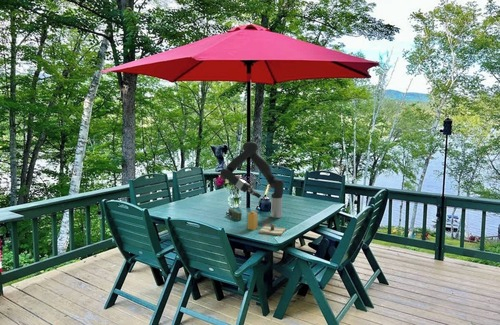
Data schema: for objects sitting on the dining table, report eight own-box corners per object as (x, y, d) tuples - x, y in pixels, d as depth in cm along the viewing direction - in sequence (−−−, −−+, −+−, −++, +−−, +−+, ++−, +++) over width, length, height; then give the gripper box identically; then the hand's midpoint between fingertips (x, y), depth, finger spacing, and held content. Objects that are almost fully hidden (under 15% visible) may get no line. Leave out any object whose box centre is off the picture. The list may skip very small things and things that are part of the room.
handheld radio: (238, 221, 277) (224, 214, 298) (241, 220, 278) (227, 214, 300) (238, 213, 276) (224, 207, 297) (242, 212, 278) (228, 206, 299)
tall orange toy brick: (247, 228, 254) (247, 212, 253) (251, 227, 259) (251, 210, 258) (253, 230, 252) (254, 213, 250) (257, 228, 256) (257, 211, 255)
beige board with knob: (264, 227, 257) (264, 220, 257) (285, 230, 252) (285, 223, 251) (258, 233, 244) (258, 225, 244) (281, 235, 238) (281, 228, 238)
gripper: (244, 181, 250) (262, 193, 248) (246, 181, 264) (263, 192, 263) (238, 190, 250) (257, 201, 249) (241, 189, 264) (258, 200, 263)
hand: (260, 196), depth 256 cm, fingers open, 8 cm apart
